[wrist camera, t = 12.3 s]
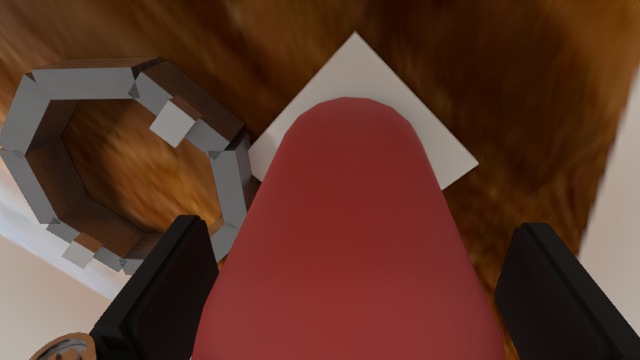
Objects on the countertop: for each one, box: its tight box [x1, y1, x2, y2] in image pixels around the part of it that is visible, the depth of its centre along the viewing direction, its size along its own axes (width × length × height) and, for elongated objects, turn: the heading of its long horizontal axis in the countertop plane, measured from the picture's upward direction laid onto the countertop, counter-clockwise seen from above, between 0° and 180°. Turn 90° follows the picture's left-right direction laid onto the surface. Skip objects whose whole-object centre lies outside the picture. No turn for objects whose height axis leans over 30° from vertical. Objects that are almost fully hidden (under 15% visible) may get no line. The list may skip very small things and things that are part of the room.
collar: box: [0, 56, 259, 275], centre depth 16 cm, size 11×12×3 cm
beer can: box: [191, 97, 505, 360], centre depth 11 cm, size 7×7×12 cm
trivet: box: [248, 31, 479, 190], centre depth 16 cm, size 8×8×1 cm
